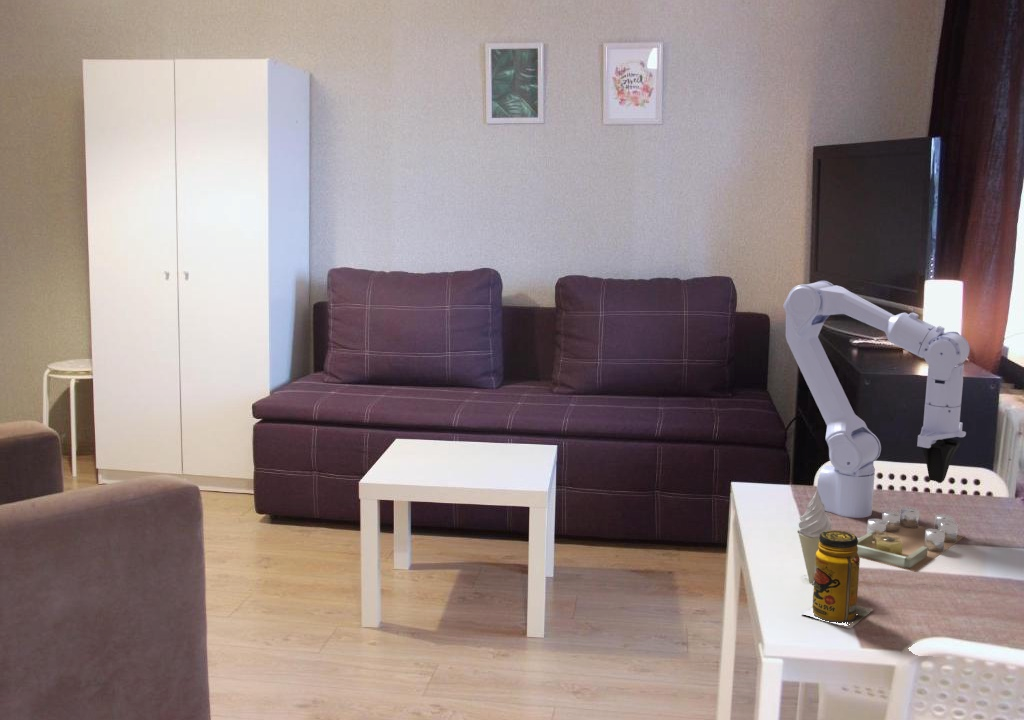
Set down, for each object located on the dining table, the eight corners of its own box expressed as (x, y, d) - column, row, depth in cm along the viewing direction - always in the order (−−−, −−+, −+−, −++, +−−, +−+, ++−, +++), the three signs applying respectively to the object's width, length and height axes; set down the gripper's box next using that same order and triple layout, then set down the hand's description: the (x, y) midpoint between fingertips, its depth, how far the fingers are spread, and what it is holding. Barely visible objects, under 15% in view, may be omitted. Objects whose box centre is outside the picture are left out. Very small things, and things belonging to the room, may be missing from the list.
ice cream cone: (828, 579, 166) (835, 486, 163) (827, 591, 161) (833, 495, 159) (795, 574, 168) (801, 483, 165) (793, 586, 163) (798, 492, 160)
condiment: (800, 615, 153) (805, 535, 150) (825, 598, 159) (830, 521, 157) (849, 630, 148) (855, 548, 146) (873, 611, 154) (879, 532, 152)
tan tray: (839, 559, 175) (840, 543, 174) (893, 526, 191) (894, 511, 190) (914, 578, 166) (915, 562, 166) (964, 542, 183) (965, 527, 182)
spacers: (863, 538, 181) (864, 521, 180) (894, 519, 191) (896, 503, 190) (936, 556, 173) (937, 538, 172) (964, 535, 183) (966, 519, 182)
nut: (876, 557, 172) (877, 542, 171) (873, 548, 176) (874, 533, 176) (902, 560, 171) (903, 544, 171) (898, 550, 176) (899, 535, 175)
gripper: (949, 414, 174) (943, 494, 177) (982, 400, 185) (975, 476, 187) (907, 407, 179) (901, 485, 181) (941, 394, 189) (935, 468, 192)
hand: (936, 480), depth 185 cm, fingers closed
